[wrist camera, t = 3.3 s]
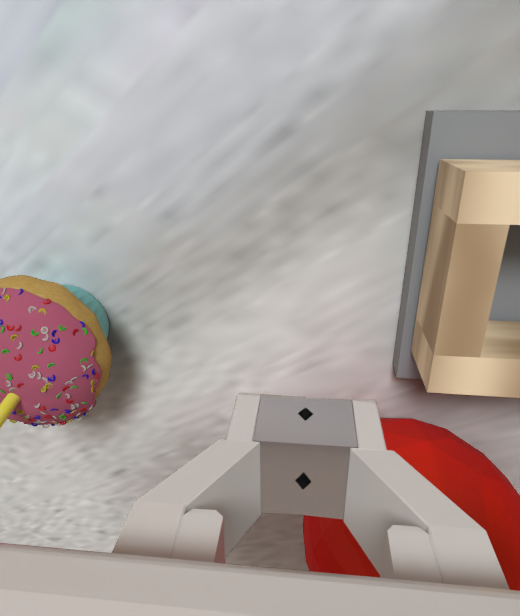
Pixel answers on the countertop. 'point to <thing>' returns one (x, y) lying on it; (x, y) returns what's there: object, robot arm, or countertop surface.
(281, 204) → the countertop surface
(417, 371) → the slate track
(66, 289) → the cupcake
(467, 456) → the tomato
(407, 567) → the robot arm
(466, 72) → the countertop surface
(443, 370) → the square wooden frame
